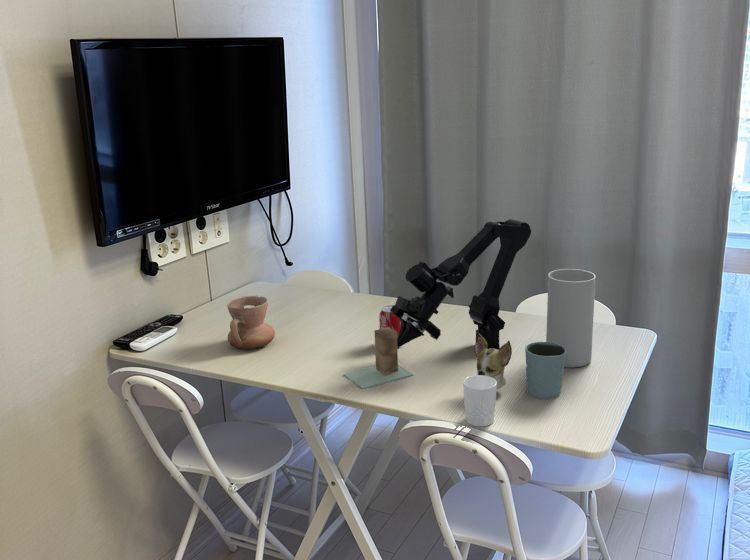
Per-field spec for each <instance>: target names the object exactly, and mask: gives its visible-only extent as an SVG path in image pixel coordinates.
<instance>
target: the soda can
mask: <svg viewBox="0 0 750 560" xmlns="http://www.w3.org/2000/svg"><path fill="white" fill-rule="evenodd" d="M393 305H394V304H392V305H385V306H382V307H381V308H380V312H379V315H378V317H379V329H383V328H387V327H389V328H391V329H393V330H394V331H396V332H397V338H398V335H399V332H400V328H401V323H400V320H399V318H398V317H397V316H396V315H394V314H393V313H392V312H391V311H390V309H391V308H392V307H393ZM398 348H399V347H398V346H397V349H398Z"/></svg>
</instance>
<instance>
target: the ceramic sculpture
mask: <svg viewBox="0 0 750 560" xmlns="http://www.w3.org/2000/svg"><path fill="white" fill-rule="evenodd" d="M487 348H488V344H487V342H486V340H485V339H484V338H483V337H482V336H481V335H480V334H479V333H478V339H477V342H476V341H475V346H474V350H475V351H474V355H475V356H476V371H477V372H476V373H477V375H484V376H489V377H492V378H494V379H495V380H496V381H497V389H496V391H497V390H499V389H501V388H503V387H504V386H505V385H506V384H507V380H506V378H505V376H504V374H505V368H506V367H507V366H508V365H509V363H510V361H511V358H512V355H513V350H512V345H511V341H510V340H508V341H507V342H506V343H504V344H503V345H501V347H500V349H499V350H497V349H493V348H490V349H487Z"/></svg>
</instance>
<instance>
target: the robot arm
mask: <svg viewBox="0 0 750 560" xmlns="http://www.w3.org/2000/svg"><path fill="white" fill-rule="evenodd" d="M531 234H532V229H531V226H530V225H529V223H527V222H525V221H520V220H517V219H514V218H513V219H512V218H510V219H507V220H505V221H491V220H490V221H487V222H486V223H484V225H483V227H482V229H480V231H479V232H477V233H476V234H475V236H473V238H471V240H470V241H469V242H468V243H466V244H465V246H463V248H462V249H461V250H460V251H459V252H458V253H456V254H454V255H451V256H449V257H446V259H444V260H443V261H442V262H440V263H439V264H438V265H437V266H436V267H432V268H430V266H429V265H428V264H427V263H425V262H424V261H421V260H420V261H419V262H418V264H415V265H413V266H412V267H409V269H408V270H407V272H406V274H405V279H406V281H407V282H408V283H409V284H411V285H412V287H414V288H415V289H416V290H417V291H418V292H420V293H422V295H421V296H415V297H411V298H409V297H405V296H403V295H397V298H396V302H395V304H392V305H393V307H392V308H391V309H390V311H391V312H392V313H393V314H394V315H396V316H397V317H398V318H399V320H400V323H401V328H400V332H399V335H398V338H397V346H398V348H401V347H402V346H404V345H406V344H408V343H410V342H411V341H413V340H416V339H417V338H420V337H424V336H425V334H424V333H425V331H426V332H427V333H428V334H429V336H430V337H431V338H433V339H434V340H436V341H437V340H438V339H439V338H440V336H441V335H442V334H441V329H440V328H439V327H438V326H436V325H435V323H433V322H432V321H430V319H431V317H432V316H433V315H438V313H439V311H438V309H439V306H440V305H441V304H442V303H443V301H444V300H445V298H446V297H450V298H451V299H453V298H455V297H454V288H453V286H455V287H456V286H457V287H458V286H459V285H460V284H461V283H463V280H465V278H466V277H467V275H468V273H469V270H470V267H471V266H472V264H473V263H475V261H477V259H478V258H479V257H480V256H481V255H482V254H483V253H484V252H485V251H486V250H487V249H488V248H489V247H490V246H491V245H492V244H493V243H494V242H495V240H497V239H498V238H499V242H500V243H499V245H500V248H499V250H498V253H497V256H496V259H495V261H494V263H493V265H492V268H491V271H490V272H489V276H488V278H487V280H486V283H485V285H484V288H483V290H482V292H481V293H480V294H479V295H476V294H475V295H473V296H472V298H471V302H470V304H469V305H468V308H469V309H468V315H469V318H470V319H471V320H472V322H473V325H475V326H476V325H477V329H475V343H476V342H477V339H478V333H479V334H480V335H481V336H482V337H483V338H484V339H485V340H486V342H487V344H488V348H487V349H490V348H493V349H497V350H499V349H500V348H501V347H500V332H501V330H504V328H505V325H506V322H505V321H504V320H503V319H502V318H501V317H500V316H499V313H500V310H501V309H500V296H501V293H502V290H503V289H504V286H505V282H506V281H507V279H508V275H509V273H510V271H511V268H512V265H513V263H514V261H515V257H516V255H517V253H518V252H519V251H521V249H522V248H524V247H525V245H526V244H527V242H528V241H529V239H530V237H531ZM437 280H438V281H437ZM445 283H446V284H448V285H450V286H446V284H445ZM451 286H452V287H451Z"/></svg>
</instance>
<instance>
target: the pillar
mask: <svg viewBox="0 0 750 560" xmlns="http://www.w3.org/2000/svg"><path fill="white" fill-rule="evenodd" d="M374 348H375V349H374V353H375V365H376V371H377V372H379V373H380V374H382V375H383V376H387V375H391V374H394V373H398V364H399V361H398V360H399V357H398V356H399V354H398V353H399V352H398V348H397V332H396V331H394V330H393V329H391V328H389V327H387V328H383V329H380V328H379V329H375V330H374Z"/></svg>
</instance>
